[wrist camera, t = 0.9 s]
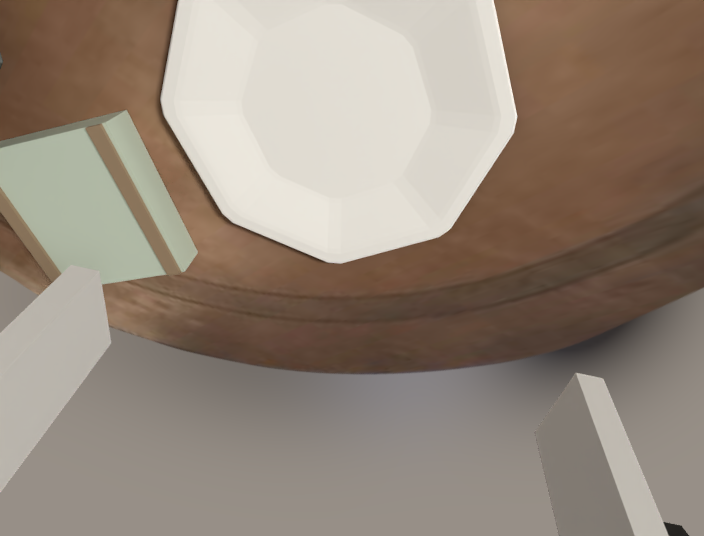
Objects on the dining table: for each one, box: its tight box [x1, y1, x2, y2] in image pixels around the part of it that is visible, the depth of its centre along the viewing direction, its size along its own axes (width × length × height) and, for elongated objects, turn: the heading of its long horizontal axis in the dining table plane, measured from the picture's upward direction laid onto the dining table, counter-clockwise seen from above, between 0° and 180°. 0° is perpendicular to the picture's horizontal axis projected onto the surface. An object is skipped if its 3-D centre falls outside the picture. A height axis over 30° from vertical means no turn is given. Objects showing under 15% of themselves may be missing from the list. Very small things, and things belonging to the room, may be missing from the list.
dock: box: [0, 110, 198, 284], centre depth 39 cm, size 13×13×3 cm
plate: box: [160, 0, 517, 264], centre depth 34 cm, size 24×24×2 cm
